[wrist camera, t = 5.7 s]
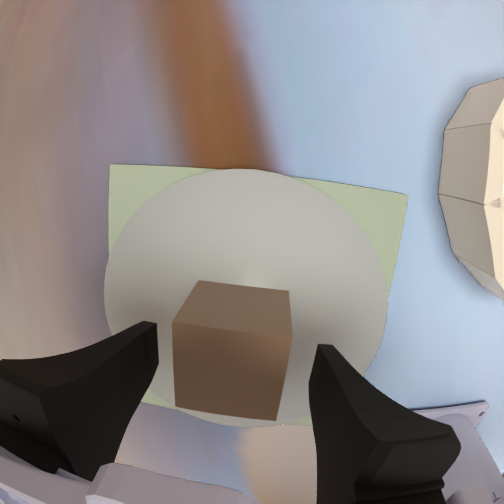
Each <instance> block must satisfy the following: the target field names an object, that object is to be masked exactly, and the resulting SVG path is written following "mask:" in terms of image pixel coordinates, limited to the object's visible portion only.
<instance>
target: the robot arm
mask: <svg viewBox="0 0 504 504" xmlns="http://www.w3.org/2000/svg"><path fill="white" fill-rule="evenodd" d="M158 364H159V353H158V334H157V323H154V322H148V321H141V322H139V323H137V324H135V325H133V326H131V327H129V328H127V329H125V330H123V331H121V332H119V333H117V334H115V335H113V336H111V337H109V338H107V339H104V340H102V341H100V342H97V343H95V344H93V345H90V346H88V347H85V348H82V349H79V350H76V351H73V352H69V353H65V354H60V355H56V356H51V357H44V358H36V359H2V360H1V361H0V504H255V501H254V500H253V499H252V498H250V497H249V496H247V495H245V494H243V493H242V492H240V491H238V490H235V489H231V488H227V487H223V486H219V485H213V484H207V483H201V482H195V481H190V480H185V479H181V478H176V477H171V476H167V475H163V474H159V473H155V472H151V471H147V470H144V469H140V468H137V467H133V466H130V465H124V464H118V463H114V461H115V458H116V455H117V452H118V449H119V446H120V444H121V441H122V438H123V436H124V433H125V431H126V428H127V426H128V424H129V422H130V420H131V418H132V416H133V414H134V412H135V411H136V409H137V407H138V405H139V404H140V402H141V400H142V398H143V397H144V395H145V393H146V391H147V389H148V388H149V386H150V384H151V382H152V380H153V378H154V375H155V373H156V370H157V367H158ZM308 389H309V407H310V413H311V419H312V425H313V431H314V437H315V443H316V451H317V504H504V479H503V476H502V475H501V473H500V471H499V469H498V467H497V465H496V464H495V462H494V460H493V458H492V456H491V455H490V453H489V451H488V449H487V448H486V446H485V444H484V442H483V441H482V439H481V437H480V436H479V434H478V432H477V431H476V427H477V426H478V424H479V423H480V421H481V419H482V418H483V416H484V414H485V413H486V411H487V410H488V408H489V404H488V403H487V402H480V403H474V404H468V405H461V406H453V407H445V408H437V409H427V410H415V411H411V410H409V409H407V408H405V407H404V406H402V405H400V404H398V403H397V402H395V401H393V400H392V399H390V398H389V397H387V396H386V395H385V394H383V393H382V392H380V391H379V390H378V389H376V388H375V387H374V386H373V385H372V384H370V383H369V382H368V381H367V380H366V379H365V378H364V377H363V376H362V375H361V374H360V373H359V372H358V371H357V370H356V369H355V368H354V367H353V366H352V365H351V364H350V363H349V362H348V361H347V360H346V359H345V358H344V357H343V356H342V354H341V353H340V352H339V351H338V350H337V349H336V348H335V347H334V346H333V345H329V344H318V345H317V350H316V354H315V358H314V362H313V366H312V370H311V374H310V378H309V382H308Z"/></svg>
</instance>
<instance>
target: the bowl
mask: <svg viewBox="0 0 504 504" xmlns="http://www.w3.org/2000/svg"><path fill="white" fill-rule="evenodd" d="M438 193H440V194H438V196H439V200H440V203H441V207H442V210H443V214H444V218H445V222H446V226H447V230H448V235H449V239H450V243H451V248H452V252H453V254H454V255H455V256H456V257H457V258H458V259H459V261H460V262H461V263H462V264H463V265H464V266H465V267H466V268H467V270H468V271H469V272H470V273H471V274H472V275H473V276H474V278H475V279H476V280H477V281H478V282H479V284H480V285H481V286H483V287H484V288H485V289H487V290H488V291H490V292H491V293H493V294H494V295H495V296H497V297H498V298H500V299H501V300H502V301H504V78H501V79H497V80H494V81H491V82H488V83H484V84H481V85H478V86H475V87H472V88H470V89H469V90H468V92H467V94H466V95H465V97H464V99H463V100H462V102H461V104H460V105H459V107H458V109H457V110H456V112H455V114H454V115H453V117H452V118H451V120H450V122H449V123H448V125H447V126H446V128H445V130H444V141H443V153H442V164H441V173H440V181H439V189H438Z"/></svg>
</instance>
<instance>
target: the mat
mask: <svg viewBox="0 0 504 504" xmlns="http://www.w3.org/2000/svg"><path fill="white" fill-rule="evenodd" d="M219 170H221V169H208V168H193V167H176V166H154V165H119V164H113V165H110V179H109V256H110V253H111V250H112V248H113V246H114V243H115V241H116V239H117V237H118V235H119V234H120V232H121V231H122V229H123V227H124V226H125V224H126V223H127V221H128V220H129V219H130V218H131V217H132V216H133V214H134V213H135V212H136V211H137V210H138V209H139V208H140V207H141V206H142V205H143V204H144V203H146V202H147V201H148V200H149V199H150V198H151V197H153V196H154V195H156V194H157V193H159V192H160V191H162V190H164V189H165V188H167V187H168V186H170V185H172V184H175V183H177V182H179V181H182V180H184V179H186V178H189V177H192V176H195V175H199V174H203V173H207V172H211V171H219ZM287 177H291V176H287ZM291 178H294V179H297V180H299V181H301V182H303V183H305V184H307V185H309V186H311V187H313V188H315V189H317V190H319V191H321V192H322V193H323V194H325V195H326V196H328V197H329V198H331V199H332V200H334V201H335V202H337V203H338V204H339V205H340V206H341V207H342V208H343V209H344V210H345V211H346V212H348V213H349V214H350V215H351V216H352V217H353V218H354V220H355V221H356V222H357V223H358V225H359V226H360V227H361V228H362V229H363V231H364V232H365V233H366V235H367V237H368V238H369V240H370V242H371V244H372V245H373V247H374V249H375V251H376V253H377V256H378V258H379V261H380V263H381V266H382V269H383V273H384V277H385V282H386V287H387V299H388V295H389V291H390V287H391V283H392V279H393V275H394V270H395V266H396V261H397V257H398V252H399V247H400V242H401V237H402V231H403V226H404V220H405V214H406V208H407V201H408V195H405V194H400V193H395V192H389V191H384V190H378V189H373V188H367V187H361V186H355V185H348V184H342V183H335V182H328V181H321V180H314V179H306V178H299V177H291ZM365 372H366V371H365ZM364 375H365V373H364V374H363V375H362V376H363V377H364ZM141 402H145V403H150V404H154V405H158V406H163V407H167V408H172V409H177V408H175V407H174V406H172V405H170V404H169V403H167V402H166V401H164V400H163V399H161V398H160V397H158V396H157V395H156V394H155V393H154V392H152V391H151V390H150V389H149V388H148V389H147V391H146V393H145V395H144V397H143V398H142V400H141ZM177 410H179V409H177ZM285 424H289V425H307V426H313V425H312V419H311V415H310V416H308V417H305V418H302V419H299V420H296V421H293V422H289V423H285Z"/></svg>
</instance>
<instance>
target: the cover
mask: <svg viewBox="0 0 504 504" xmlns="http://www.w3.org/2000/svg"><path fill="white" fill-rule="evenodd" d="M104 305H105V312H106V318H107V322H108V325H109V328H110V332H111V335H112V336H113V335H115V334H117V333H119V332H121V331H123V330H125V329H127V328H129V327H131V326H133V325H135V324H137V323H139V322H141V321H148V322H154V323H157V334H158V353H159V364H158V367H157V370H156V373H155V375H154V378H153V380H152V382H151V384H150V386H149V389H150V390H151V391H152V392H154V393H155V394H156V395H157V396H158V397H160V398H161V399H163V400H164V401H166V402H167V403H169V404H170V405H172V406H174V407H175V408H177V409H179V410H181V411H183V412H185V413H187V414H190V415H192V416H195V417H197V418H200V419H203V420H206V421H209V422H213V423H217V424H222V425H228V426H236V427H267V426H274V425H281V424H285V423H289V422H293V421H296V420H299V419H302V418H305V417H308V416H310V415H311V413H310V407H309V389H308V382H309V378H310V374H311V370H312V366H313V362H314V358H315V354H316V350H317V345H318V344H329V345H333V346H334V347H335V348H336V349H337V350H338V351H339V352H340V353H341V354H342V356H343V357H344V358H345V359H346V360H347V361H348V362H349V363H350V364H351V365H352V366H353V367H354V368H355V369H356V370H357V371H358V372H359V373H360V374H361V375H363V374H364V373H365V371H366V370H367V369H368V367H369V366H370V364H371V362H372V360H373V358H374V357H375V355H376V353H377V350H378V348H379V345H380V343H381V340H382V338H383V333H384V329H385V325H386V319H387V306H388V301H387V287H386V282H385V277H384V273H383V269H382V266H381V263H380V261H379V258H378V256H377V253H376V251H375V249H374V247H373V245H372V244H371V242H370V240H369V238H368V237H367V235H366V233H365V232H364V231H363V229H362V228H361V227H360V226H359V225H358V223H357V222H356V221H355V220H354V218H353V217H352V216H351V215H350V214H349V213H348V212H346V211H345V210H344V209H343V208H342V207H341V206H340V205H339V204H338V203H337V202H335V201H334V200H332V199H331V198H329V197H328V196H326V195H325V194H323V193H322V192H321V191H319V190H317V189H315V188H313V187H311V186H309V185H307V184H305V183H303V182H301V181H299V180H297V179H294V178H291V177H287V176H284V175H281V174H278V173H273V172H268V171H262V170H256V169H228V170H219V171H211V172H207V173H203V174H199V175H195V176H192V177H189V178H186V179H184V180H182V181H179V182H177V183H175V184H172V185H170V186H168V187H167V188H165V189H164V190H162V191H160V192H159V193H157V194H156V195H154V196H153V197H151V198H150V199H149V200H148V201H147V202H146V203H144V204H143V205H142V206H141V207H140V208H139V209H138V210H137V211H136V212H135V213H134V214H133V216H132V217H131V218H130V219H129V220H128V221H127V223H126V224H125V226H124V227H123V229H122V231H121V232H120V234H119V235H118V237H117V239H116V241H115V243H114V246H113V248H112V250H111V253H110V256H109V259H108V263H107V267H106V271H105V280H104Z"/></svg>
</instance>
